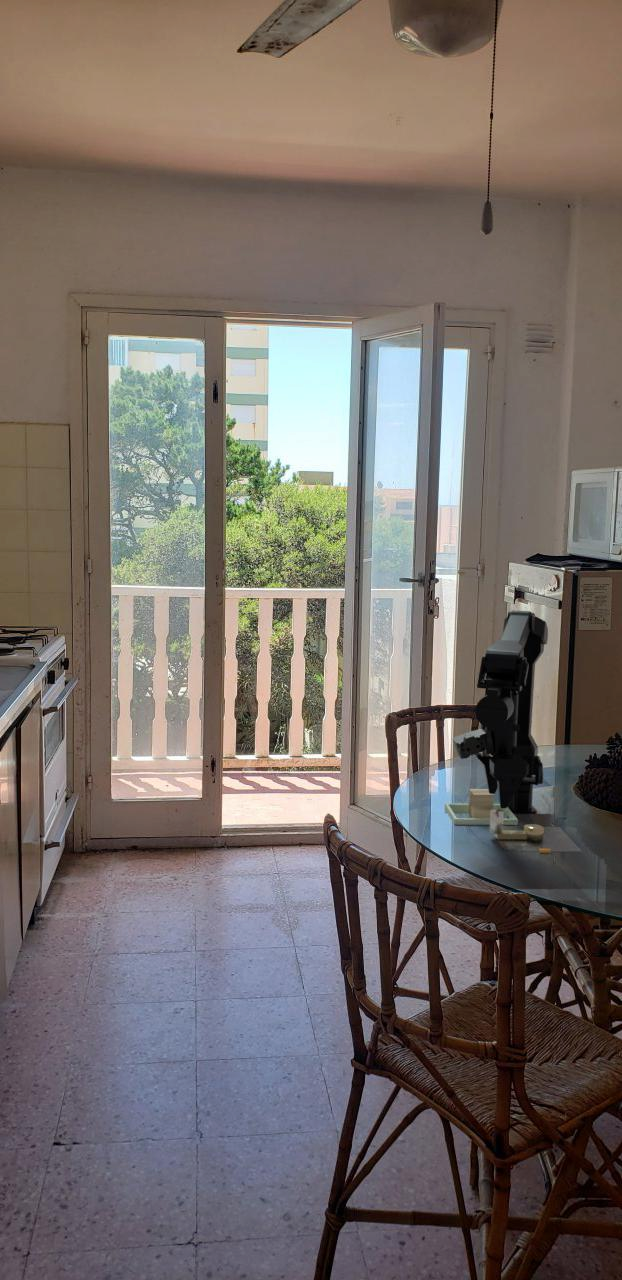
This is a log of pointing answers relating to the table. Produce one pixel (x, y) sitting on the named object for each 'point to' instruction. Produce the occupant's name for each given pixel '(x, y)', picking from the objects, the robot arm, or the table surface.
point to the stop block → (480, 803)
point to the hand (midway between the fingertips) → (497, 800)
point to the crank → (529, 832)
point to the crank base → (540, 842)
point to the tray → (477, 821)
